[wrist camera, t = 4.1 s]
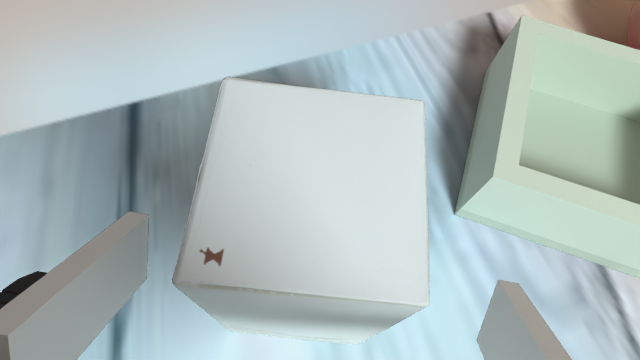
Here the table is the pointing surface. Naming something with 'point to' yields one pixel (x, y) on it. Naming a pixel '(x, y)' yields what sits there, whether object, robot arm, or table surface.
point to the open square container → (559, 145)
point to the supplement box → (309, 213)
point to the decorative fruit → (634, 26)
